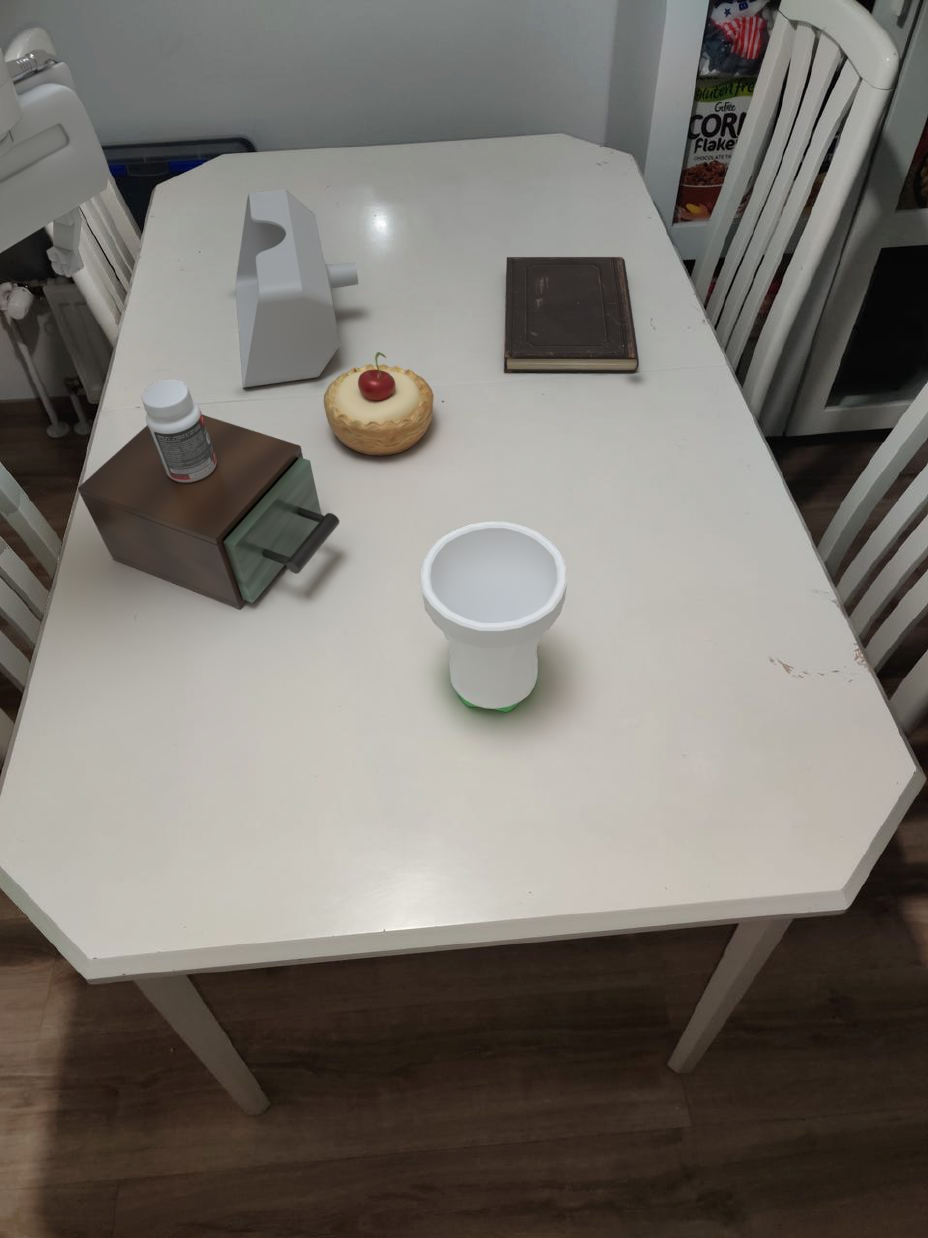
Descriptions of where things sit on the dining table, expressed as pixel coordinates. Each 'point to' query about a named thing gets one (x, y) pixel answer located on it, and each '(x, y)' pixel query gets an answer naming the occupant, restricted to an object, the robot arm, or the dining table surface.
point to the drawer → (278, 531)
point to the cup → (493, 607)
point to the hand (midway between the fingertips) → (25, 301)
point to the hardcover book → (568, 316)
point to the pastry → (379, 408)
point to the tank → (285, 292)
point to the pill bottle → (178, 431)
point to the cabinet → (184, 506)
